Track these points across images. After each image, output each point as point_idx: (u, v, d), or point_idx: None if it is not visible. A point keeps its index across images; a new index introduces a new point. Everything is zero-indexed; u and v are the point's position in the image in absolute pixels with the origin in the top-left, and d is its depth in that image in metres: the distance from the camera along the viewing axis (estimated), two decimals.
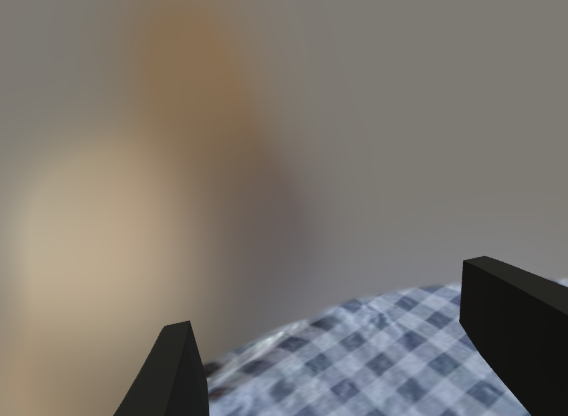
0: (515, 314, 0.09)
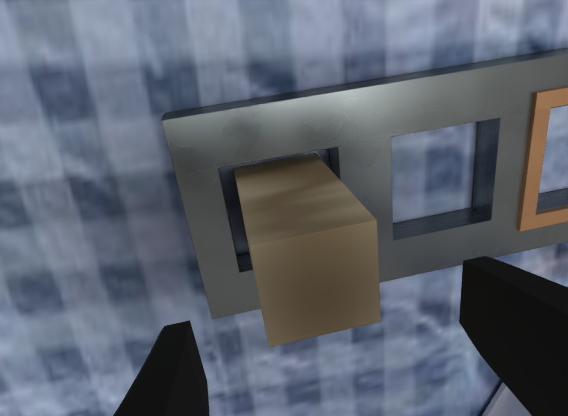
0: (515, 314, 0.09)
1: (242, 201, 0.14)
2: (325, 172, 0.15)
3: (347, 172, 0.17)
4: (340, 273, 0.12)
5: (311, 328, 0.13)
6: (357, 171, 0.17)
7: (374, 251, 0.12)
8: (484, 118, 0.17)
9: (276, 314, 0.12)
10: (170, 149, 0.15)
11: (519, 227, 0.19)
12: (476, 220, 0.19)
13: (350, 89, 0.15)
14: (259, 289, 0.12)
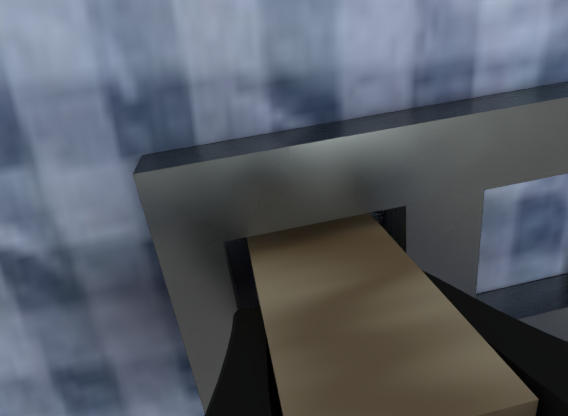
0: None
1: (265, 314, 0.08)
2: (392, 252, 0.10)
3: (416, 242, 0.11)
4: None
5: None
6: (431, 239, 0.11)
7: None
8: None
9: None
10: (148, 217, 0.10)
11: None
12: None
13: (430, 120, 0.10)
14: None
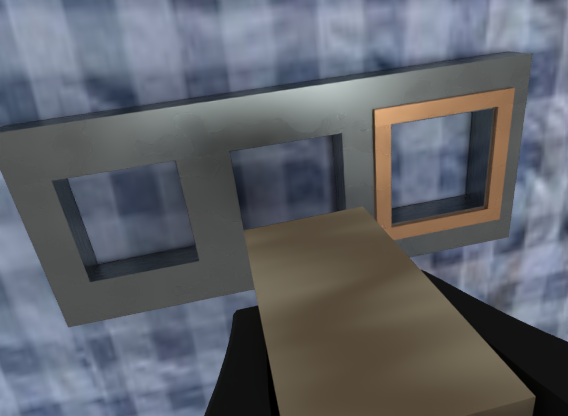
0: None
1: (263, 313, 0.08)
2: (390, 250, 0.10)
3: (188, 186, 0.17)
4: None
5: None
6: (199, 184, 0.17)
7: None
8: (325, 134, 0.17)
9: None
10: None
11: None
12: None
13: (181, 105, 0.16)
14: None
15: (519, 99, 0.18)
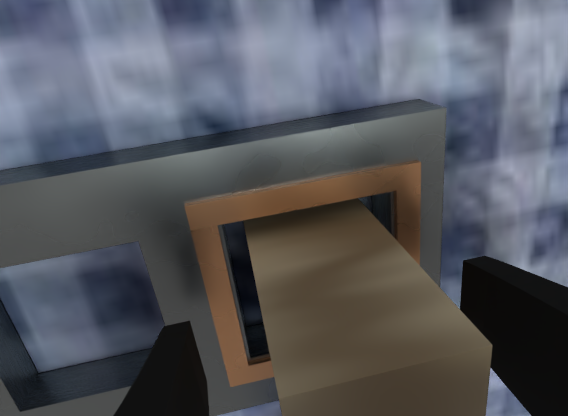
0: (515, 314, 0.09)
1: (258, 284, 0.09)
2: (375, 230, 0.11)
3: None
4: None
5: None
6: None
7: (483, 389, 0.07)
8: (108, 244, 0.11)
9: None
10: None
11: (229, 381, 0.13)
12: None
13: None
14: None
15: (432, 177, 0.12)
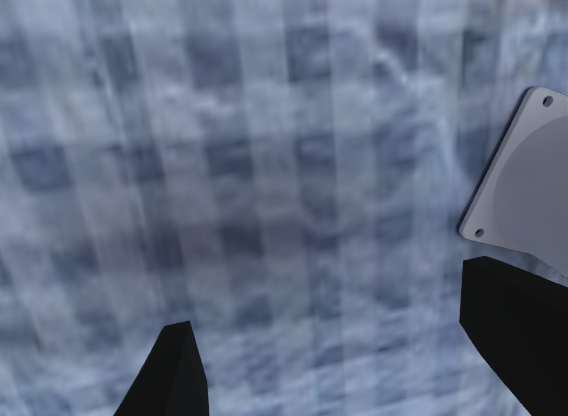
0: (515, 314, 0.09)
1: None
2: None
3: None
4: None
5: None
6: None
7: None
8: None
9: None
10: None
11: None
12: None
13: None
14: None
15: None
